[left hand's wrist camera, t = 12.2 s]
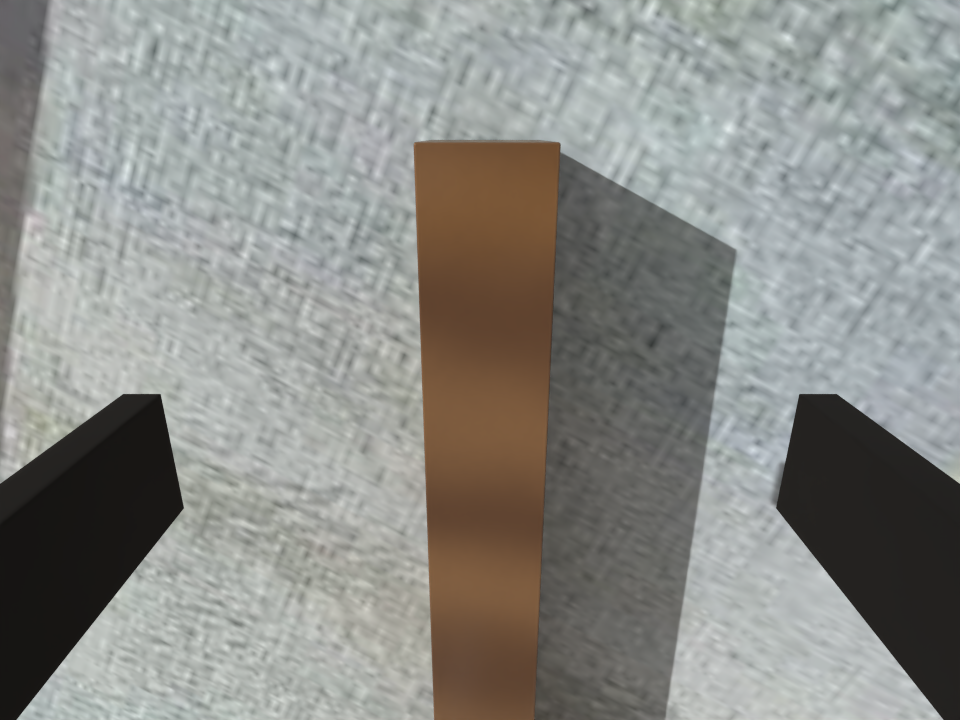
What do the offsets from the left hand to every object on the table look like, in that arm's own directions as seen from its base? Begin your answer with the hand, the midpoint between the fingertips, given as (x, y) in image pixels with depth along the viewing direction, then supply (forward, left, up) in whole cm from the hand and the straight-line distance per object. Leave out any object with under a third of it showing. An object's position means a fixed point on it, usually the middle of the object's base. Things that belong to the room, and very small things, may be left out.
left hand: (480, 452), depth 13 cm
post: (+9, +27, -18) cm, 34 cm away
